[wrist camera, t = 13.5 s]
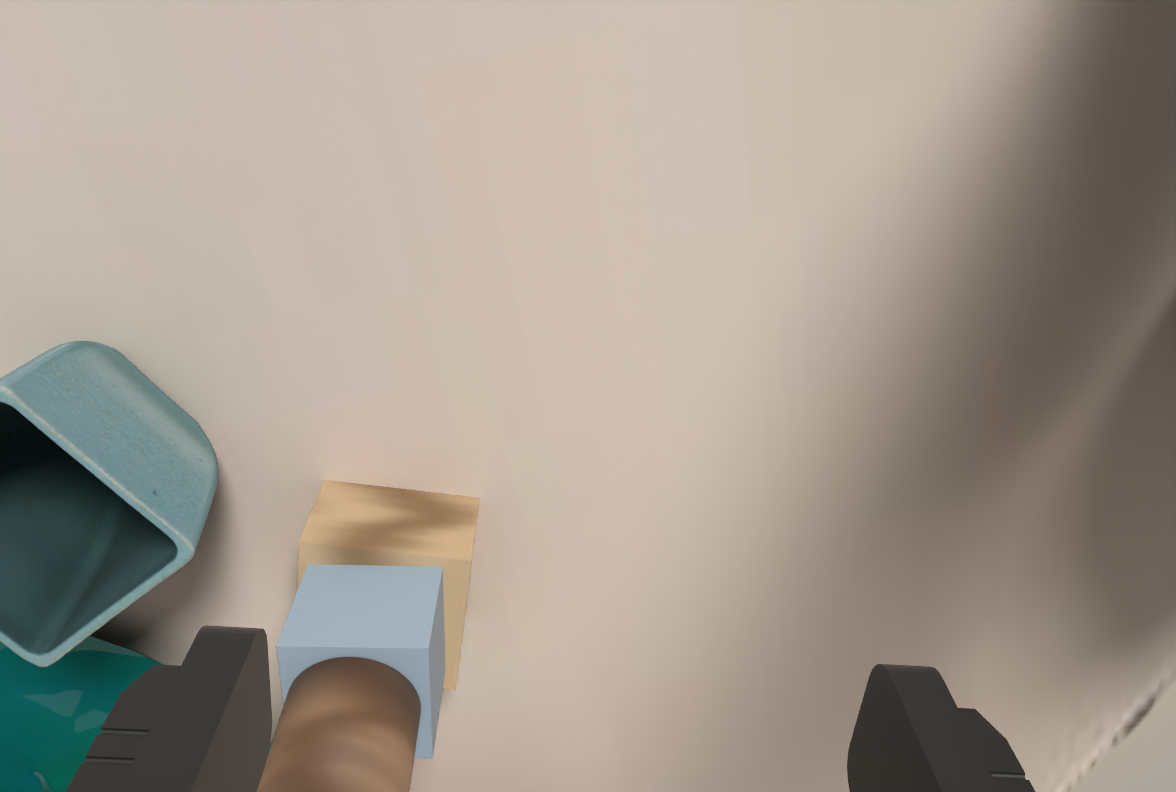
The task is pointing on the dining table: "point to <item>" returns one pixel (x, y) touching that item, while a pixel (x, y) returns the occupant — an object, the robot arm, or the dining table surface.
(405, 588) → the mid block
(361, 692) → the brown rounded cylinder
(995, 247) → the dining table surface
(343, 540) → the base block
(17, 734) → the sailing ship model
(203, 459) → the flower pot
